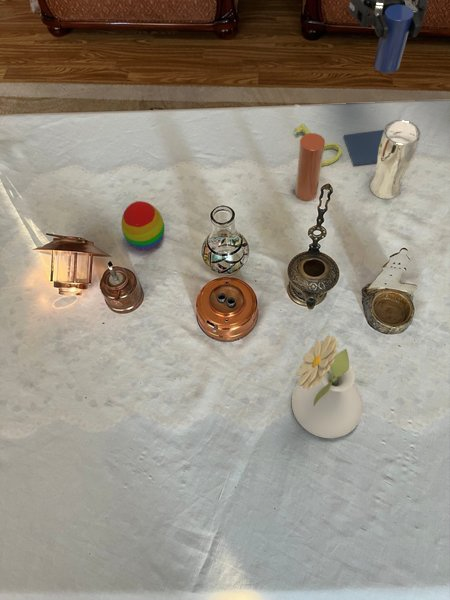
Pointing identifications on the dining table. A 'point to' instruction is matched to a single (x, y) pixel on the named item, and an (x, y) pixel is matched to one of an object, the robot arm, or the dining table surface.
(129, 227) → the decorative egg
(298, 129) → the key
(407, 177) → the dining table surface
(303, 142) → the terracotta pillar
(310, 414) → the flower in vase
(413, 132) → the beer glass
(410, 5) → the robot arm
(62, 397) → the dining table surface
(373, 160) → the blue tile
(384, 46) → the blue canister
